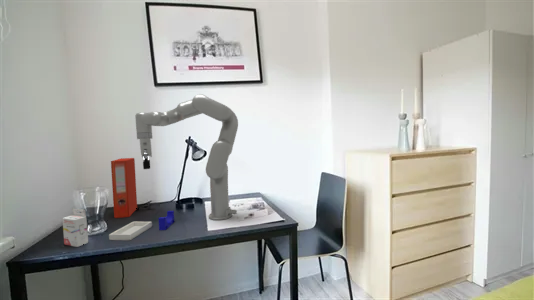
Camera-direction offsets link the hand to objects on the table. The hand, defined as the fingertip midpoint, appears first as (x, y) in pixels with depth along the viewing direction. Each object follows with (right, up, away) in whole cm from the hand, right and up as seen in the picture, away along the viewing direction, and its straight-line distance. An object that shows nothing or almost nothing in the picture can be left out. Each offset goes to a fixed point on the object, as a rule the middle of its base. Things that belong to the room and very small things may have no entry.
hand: (147, 168), depth 143 cm
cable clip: (+14, -29, -10) cm, 33 cm away
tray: (+1, -29, -18) cm, 34 cm away
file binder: (-19, -28, +15) cm, 37 cm away
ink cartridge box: (-17, -31, -29) cm, 46 cm away
